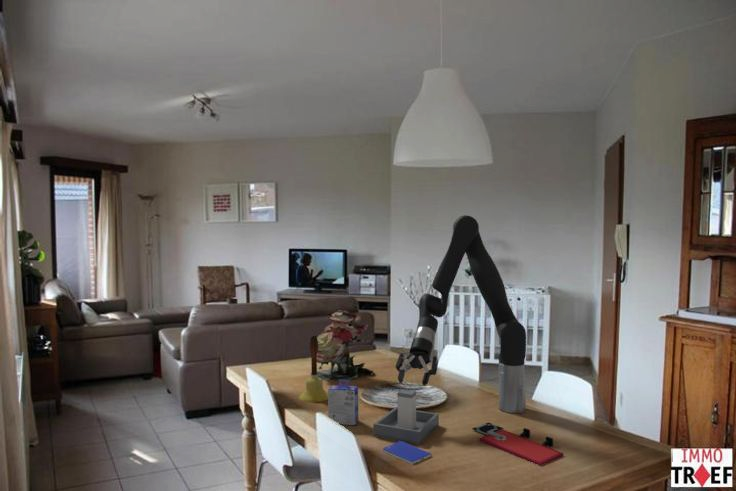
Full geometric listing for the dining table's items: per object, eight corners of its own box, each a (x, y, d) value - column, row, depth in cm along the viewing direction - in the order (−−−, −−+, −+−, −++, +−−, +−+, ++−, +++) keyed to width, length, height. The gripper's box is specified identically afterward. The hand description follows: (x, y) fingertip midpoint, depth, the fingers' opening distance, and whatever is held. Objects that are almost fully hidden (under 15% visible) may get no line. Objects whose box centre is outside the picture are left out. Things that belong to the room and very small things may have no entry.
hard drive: (382, 447, 162) (412, 461, 153) (401, 440, 167) (431, 452, 158) (382, 453, 162) (412, 466, 153) (401, 445, 167) (431, 457, 158)
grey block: (416, 426, 179) (416, 391, 178) (411, 430, 175) (411, 394, 175) (402, 424, 181) (402, 389, 181) (397, 428, 177) (397, 392, 177)
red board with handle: (492, 423, 184) (461, 435, 175) (492, 415, 184) (461, 426, 175) (570, 454, 160) (540, 469, 151) (570, 445, 160) (540, 459, 151)
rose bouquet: (331, 364, 265) (331, 304, 264) (380, 373, 249) (380, 309, 247) (296, 376, 244) (295, 311, 243) (347, 387, 228) (346, 317, 227)
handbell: (326, 391, 222) (325, 331, 221) (333, 400, 210) (332, 337, 209) (296, 394, 218) (295, 333, 217) (302, 403, 207) (301, 339, 206)
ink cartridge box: (359, 420, 188) (358, 379, 188) (355, 425, 183) (355, 383, 182) (332, 418, 190) (331, 378, 190) (327, 424, 185) (327, 382, 184)
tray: (438, 425, 183) (438, 413, 182) (419, 444, 166) (419, 432, 166) (395, 418, 190) (395, 407, 190) (373, 436, 174) (373, 424, 173)
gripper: (401, 335, 191) (389, 375, 181) (439, 337, 185) (429, 379, 175) (407, 346, 196) (395, 386, 186) (444, 349, 190) (434, 390, 180)
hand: (411, 383), depth 181 cm, fingers open, 8 cm apart
